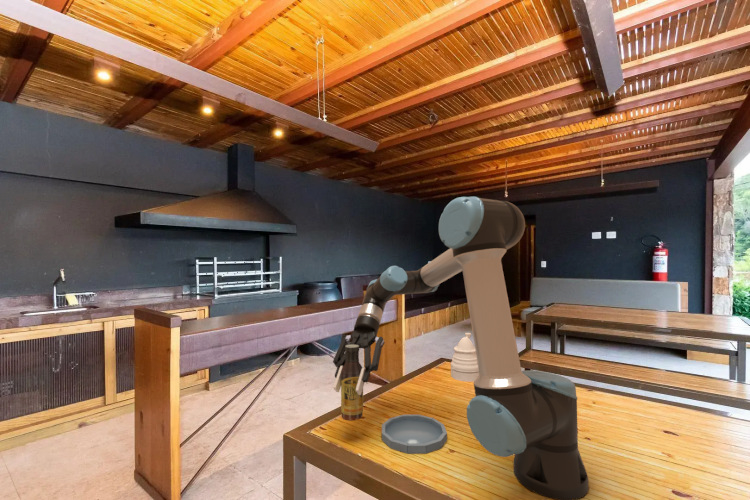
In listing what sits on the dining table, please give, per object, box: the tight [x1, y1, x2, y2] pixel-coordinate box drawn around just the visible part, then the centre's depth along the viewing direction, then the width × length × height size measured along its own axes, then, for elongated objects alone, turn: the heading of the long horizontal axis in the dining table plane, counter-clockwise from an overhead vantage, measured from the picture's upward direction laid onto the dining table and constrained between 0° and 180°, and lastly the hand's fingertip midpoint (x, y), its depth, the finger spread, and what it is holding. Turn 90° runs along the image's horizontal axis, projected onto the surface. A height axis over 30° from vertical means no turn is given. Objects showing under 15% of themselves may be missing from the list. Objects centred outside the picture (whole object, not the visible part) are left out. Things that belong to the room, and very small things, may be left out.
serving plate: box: [381, 414, 448, 455], centre depth 98 cm, size 18×18×2 cm
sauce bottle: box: [340, 344, 364, 422], centre depth 98 cm, size 6×6×20 cm
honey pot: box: [450, 332, 479, 383], centre depth 147 cm, size 13×13×18 cm
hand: (347, 391), depth 94 cm, fingers closed on sauce bottle, 6 cm apart
